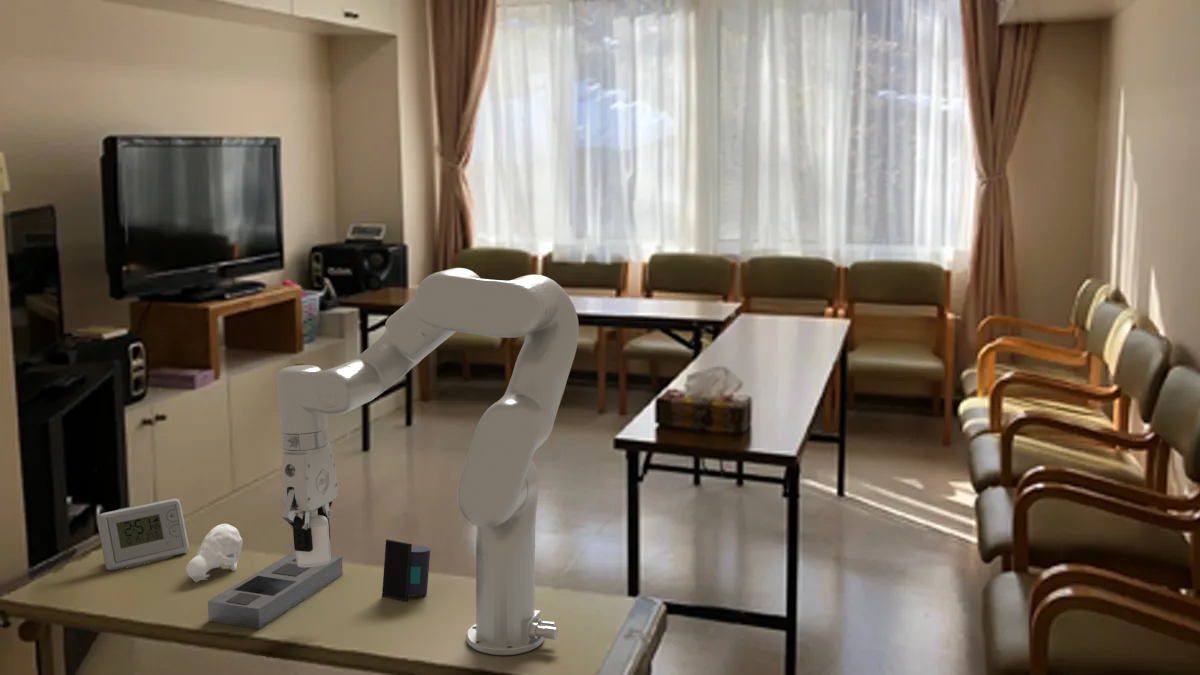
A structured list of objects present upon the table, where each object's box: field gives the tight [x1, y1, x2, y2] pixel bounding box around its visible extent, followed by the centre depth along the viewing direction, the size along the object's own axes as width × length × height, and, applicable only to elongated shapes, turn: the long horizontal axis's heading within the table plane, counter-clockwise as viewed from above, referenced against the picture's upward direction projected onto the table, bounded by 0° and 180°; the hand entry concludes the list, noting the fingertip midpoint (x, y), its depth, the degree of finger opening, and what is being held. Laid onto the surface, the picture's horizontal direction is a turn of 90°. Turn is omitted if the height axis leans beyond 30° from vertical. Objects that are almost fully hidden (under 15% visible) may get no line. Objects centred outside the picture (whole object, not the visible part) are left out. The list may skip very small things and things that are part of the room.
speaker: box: [381, 539, 431, 602], centre depth 194 cm, size 8×6×10 cm
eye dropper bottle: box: [295, 509, 332, 567], centre depth 182 cm, size 4×6×12 cm
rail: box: [207, 550, 343, 630], centre depth 193 cm, size 10×26×4 cm, turn 162°
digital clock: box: [96, 498, 190, 571], centre depth 210 cm, size 16×9×11 cm, turn 123°
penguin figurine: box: [185, 523, 244, 583], centre depth 203 cm, size 6×8×12 cm
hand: (312, 544), depth 182 cm, fingers closed on eye dropper bottle, 4 cm apart
